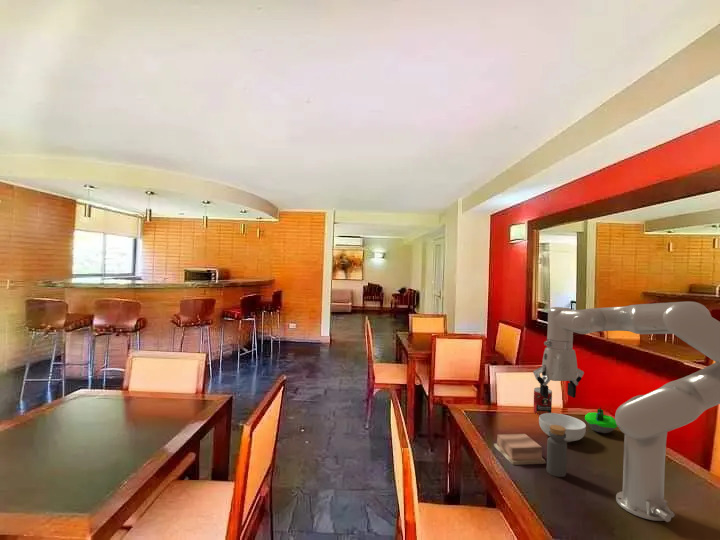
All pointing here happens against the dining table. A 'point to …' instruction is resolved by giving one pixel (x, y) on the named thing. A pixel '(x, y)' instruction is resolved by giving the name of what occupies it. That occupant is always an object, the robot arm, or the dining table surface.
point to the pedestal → (519, 449)
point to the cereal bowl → (563, 425)
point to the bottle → (557, 451)
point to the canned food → (542, 402)
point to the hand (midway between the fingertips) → (557, 396)
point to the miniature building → (600, 422)
